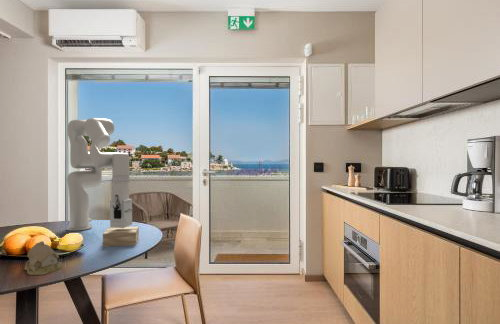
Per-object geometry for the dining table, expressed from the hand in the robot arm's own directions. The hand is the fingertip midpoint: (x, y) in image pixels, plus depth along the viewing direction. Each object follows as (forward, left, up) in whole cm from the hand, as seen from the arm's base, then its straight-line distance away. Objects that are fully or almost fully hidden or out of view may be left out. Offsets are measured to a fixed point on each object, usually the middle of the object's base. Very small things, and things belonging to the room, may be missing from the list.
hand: (121, 216), depth 165 cm
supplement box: (0, 0, -5) cm, 5 cm away
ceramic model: (+39, -13, -12) cm, 43 cm away
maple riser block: (0, 0, -12) cm, 12 cm away
